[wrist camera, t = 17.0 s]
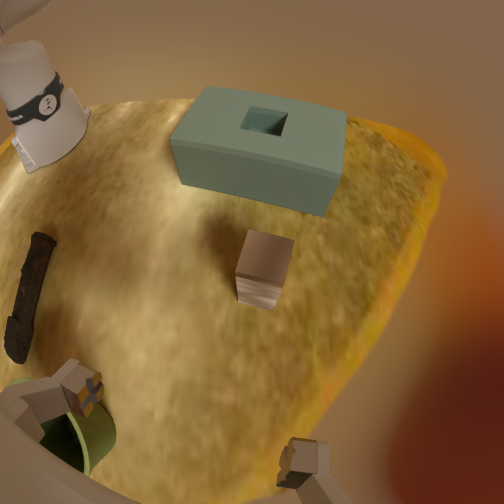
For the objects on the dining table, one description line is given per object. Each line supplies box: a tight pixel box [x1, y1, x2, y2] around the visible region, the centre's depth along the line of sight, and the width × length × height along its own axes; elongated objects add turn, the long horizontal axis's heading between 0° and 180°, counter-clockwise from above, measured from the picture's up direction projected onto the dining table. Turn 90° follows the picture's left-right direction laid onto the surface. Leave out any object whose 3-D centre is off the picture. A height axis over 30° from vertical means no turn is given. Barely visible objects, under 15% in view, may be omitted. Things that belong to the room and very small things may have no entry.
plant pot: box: [8, 378, 116, 477], centre depth 19 cm, size 12×12×11 cm
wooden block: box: [235, 229, 294, 311], centre depth 28 cm, size 4×4×10 cm
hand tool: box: [4, 232, 56, 364], centre depth 29 cm, size 19×4×5 cm, turn 174°
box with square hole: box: [169, 86, 347, 217], centre depth 36 cm, size 20×12×9 cm, turn 75°
